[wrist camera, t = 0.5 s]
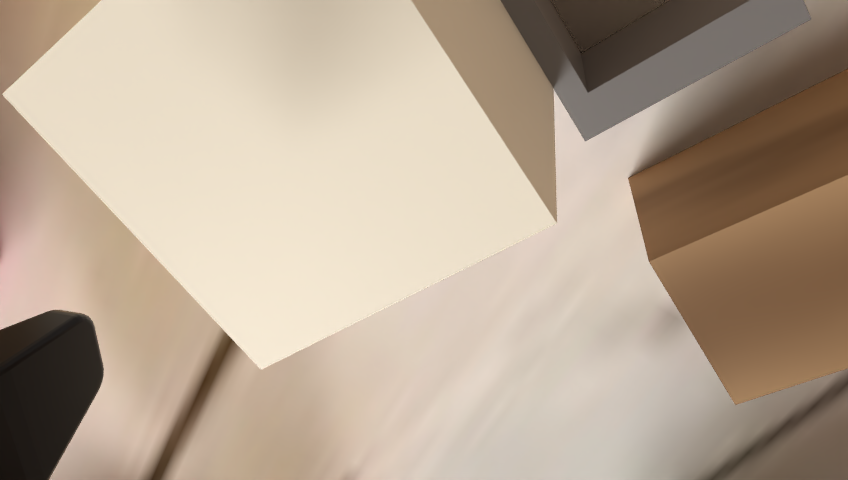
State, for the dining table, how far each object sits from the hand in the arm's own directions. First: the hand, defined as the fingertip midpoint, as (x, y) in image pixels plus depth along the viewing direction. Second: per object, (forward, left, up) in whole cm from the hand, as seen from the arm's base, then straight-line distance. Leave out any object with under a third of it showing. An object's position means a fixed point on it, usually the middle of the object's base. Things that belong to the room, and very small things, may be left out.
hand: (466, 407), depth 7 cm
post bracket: (+3, +2, -13) cm, 14 cm away
